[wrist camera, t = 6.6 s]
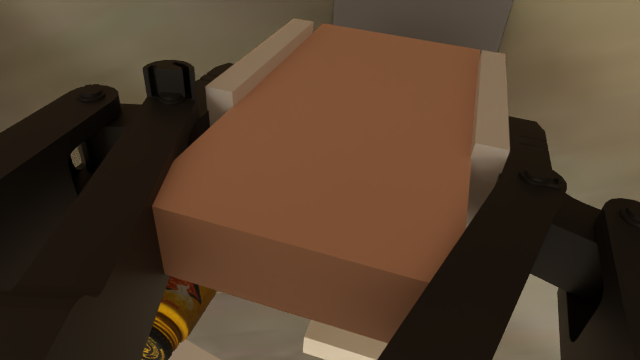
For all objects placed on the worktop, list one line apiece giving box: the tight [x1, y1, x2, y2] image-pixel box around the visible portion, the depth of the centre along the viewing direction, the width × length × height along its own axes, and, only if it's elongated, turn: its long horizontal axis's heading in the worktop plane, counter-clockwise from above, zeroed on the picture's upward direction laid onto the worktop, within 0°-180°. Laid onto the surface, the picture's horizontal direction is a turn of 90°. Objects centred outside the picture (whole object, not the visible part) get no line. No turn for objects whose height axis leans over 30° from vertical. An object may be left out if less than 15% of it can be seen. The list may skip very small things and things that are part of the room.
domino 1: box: [152, 23, 480, 343], centre depth 13 cm, size 2×6×12 cm, turn 86°
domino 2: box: [303, 320, 388, 360], centre depth 36 cm, size 2×6×12 cm, turn 86°
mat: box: [332, 0, 513, 55], centre depth 35 cm, size 11×30×1 cm, turn 176°
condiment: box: [141, 276, 223, 360], centre depth 47 cm, size 7×8×12 cm
